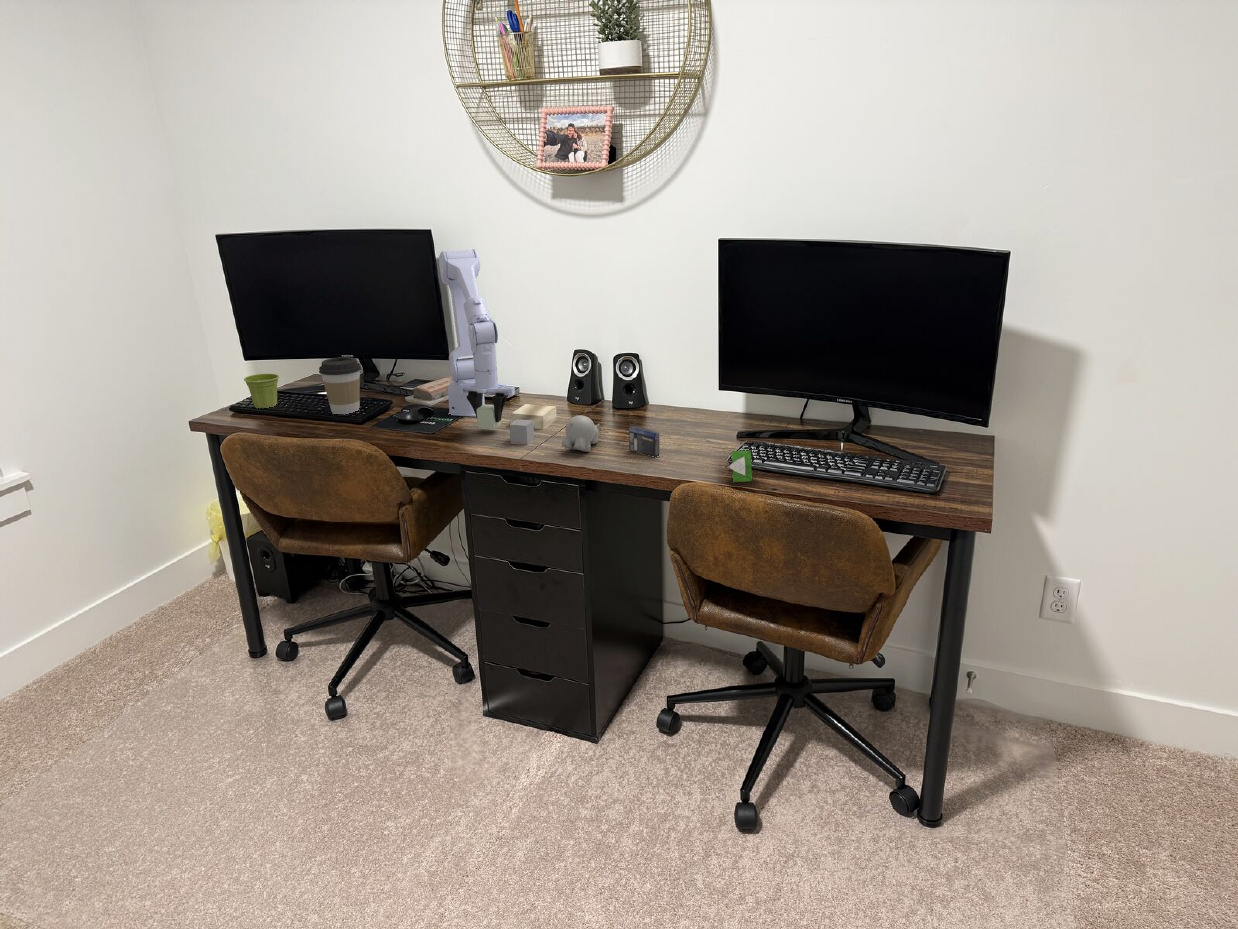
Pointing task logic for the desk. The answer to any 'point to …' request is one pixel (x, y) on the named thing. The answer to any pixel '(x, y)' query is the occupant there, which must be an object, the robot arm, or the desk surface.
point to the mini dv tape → (644, 441)
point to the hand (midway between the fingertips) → (489, 420)
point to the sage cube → (487, 417)
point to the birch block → (536, 415)
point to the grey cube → (521, 432)
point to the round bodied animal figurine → (580, 433)
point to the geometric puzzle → (741, 466)
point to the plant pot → (263, 389)
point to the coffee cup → (342, 384)
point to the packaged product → (431, 392)
